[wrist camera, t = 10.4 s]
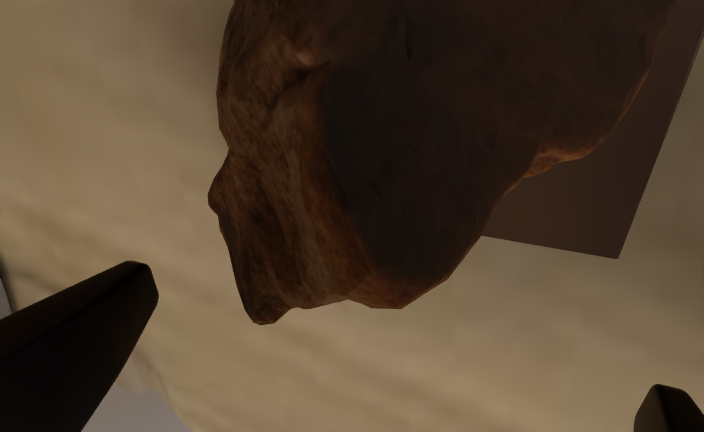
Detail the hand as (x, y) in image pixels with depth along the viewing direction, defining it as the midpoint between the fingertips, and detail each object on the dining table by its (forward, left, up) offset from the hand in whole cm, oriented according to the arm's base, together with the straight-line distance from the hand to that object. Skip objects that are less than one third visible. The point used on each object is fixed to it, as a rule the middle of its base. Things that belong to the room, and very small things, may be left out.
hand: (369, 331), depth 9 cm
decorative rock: (0, -4, -9) cm, 10 cm away
